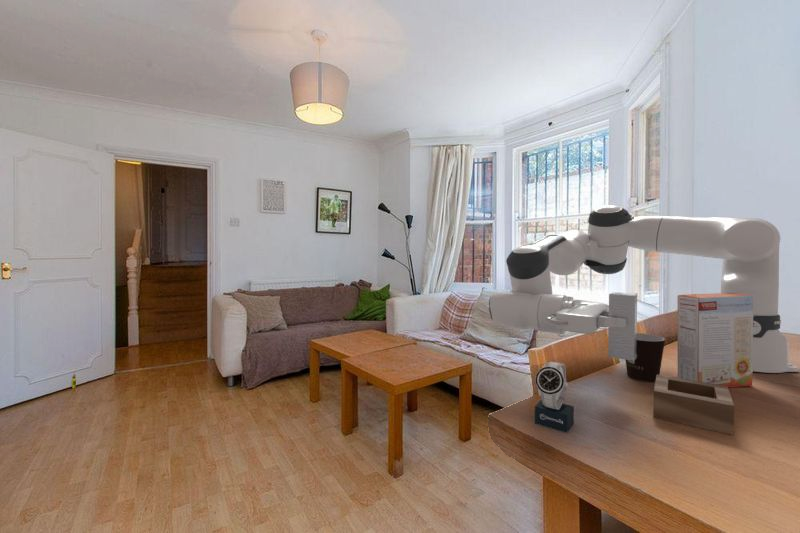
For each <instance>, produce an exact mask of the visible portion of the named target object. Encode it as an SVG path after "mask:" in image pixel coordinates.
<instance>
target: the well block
mask: <svg viewBox="0 0 800 533" xmlns="http://www.w3.org/2000/svg"><path fill="white" fill-rule="evenodd" d="M652 403H653V404H652V406H653V407H652V408H653V409H652V410H653V412H652V413H653V414H652V416H653V418H655V419H660V420H664V421H669V422H672V423H673V422H675V423H677V424H681V425H685V426H691V427H696V428H700V429H703V430H704V429H705V430H709V431H714V432H718V433H722V434H726V435H731V436H734V434H735V433H734V431H735V430H734V426H735V423H734V422H735V404H734V401H733V399H732V395H731V392H730V390H729V387H728V386H724V385H717V384H711V383H705V382H699V381H693V380H687V379H681V378H678V377H674V376H669V375H668V376H666V375H660V374H659V375H657V376H656V381H655V382H654V387H653V402H652Z"/></svg>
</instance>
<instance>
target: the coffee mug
mask: <svg viewBox="0 0 800 533" xmlns="http://www.w3.org/2000/svg"><path fill="white" fill-rule="evenodd" d="M665 341H666V338H664V337H662V336H659V335H656V334H655V335H654V334H650V333H642V332H641V333H640V332H639V333H638V332H637V340H636V357H635V360H634V361H632V360H625V359H624V360H625V368H626V369H625V370H626V375H628V376H629V377H628V376H627V377H628V378H630V379H633V380H636V381H639V382H646V383H655V381H656V376H657V375H660V372H661V366H662V361H663V355H664V348H665Z"/></svg>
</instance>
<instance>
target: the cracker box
mask: <svg viewBox="0 0 800 533" xmlns="http://www.w3.org/2000/svg"><path fill="white" fill-rule="evenodd" d="M753 372H754V371H753V295H745V294H737V293H721V292H719V293H690V294H689V293H688V294H678V295H677V378H681V379H687V380H693V381H699V382H705V383H711V384H717V385H724V386H728V388H737V387H738V388H739V387H752V386H753V380H754V379H753V378H754V377H753V376H754V375H753Z"/></svg>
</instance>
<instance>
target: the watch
mask: <svg viewBox="0 0 800 533" xmlns="http://www.w3.org/2000/svg"><path fill="white" fill-rule="evenodd" d="M567 381H568V380H567V370H566V365H565V364H564V363H563V362H562V363H561V362H557V361H556V362H555V361H552V360H551V361H548V362H546V363H544V365H542V367H541V368H540V369H539V370H538V371H537V372H536V374H535V378H534V383H535V386H536V388H537V392H538V395H539V397H540V398H541V400H540V401H538V402H537V404H535V406H534V424H536V425H539V426H543V427H546V428H549V429H553V430H557V431H559V432H563V433H567V434H568V433H569V431H570V429H571V428H572V426H573V425H574V421H575V417H574V416H575V412H574V411H575V406H574V405H570V404H566V403H563V401H565V398H566V394H567V392H566V391H567V388H568V387H569V382H567Z"/></svg>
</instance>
